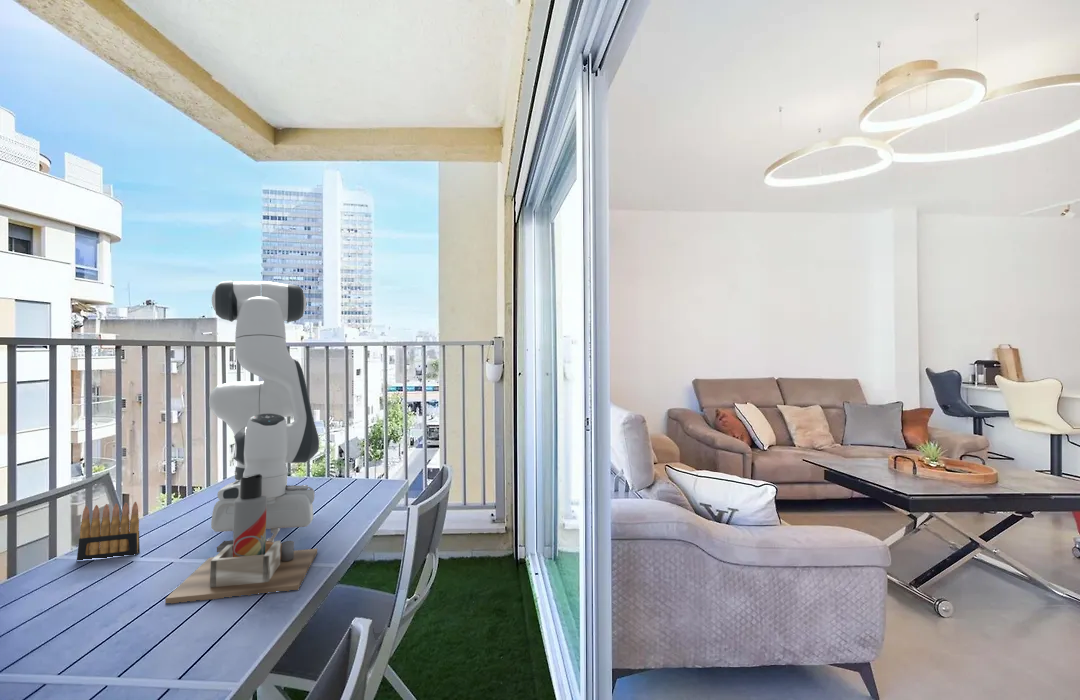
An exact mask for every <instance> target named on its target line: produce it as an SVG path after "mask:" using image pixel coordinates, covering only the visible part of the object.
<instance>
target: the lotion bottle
mask: <svg viewBox="0 0 1080 700" xmlns="http://www.w3.org/2000/svg"><path fill="white" fill-rule="evenodd" d="M266 506H267V498H266V496H262V475H260V474H253V475H249V476H246V477H243V478H241V480H240V498H238V499H236V500H235V503H234V531H232V532H233V534H232V535H233V536H232V537H233V539H232V540H233V557H242V556H253V555H265V543H266V539H267V538H266V537H267V535H266V534H267V529H266Z"/></svg>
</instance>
